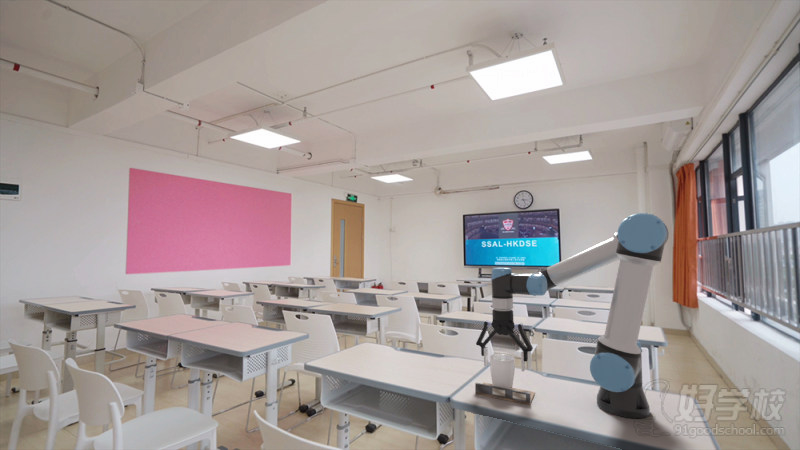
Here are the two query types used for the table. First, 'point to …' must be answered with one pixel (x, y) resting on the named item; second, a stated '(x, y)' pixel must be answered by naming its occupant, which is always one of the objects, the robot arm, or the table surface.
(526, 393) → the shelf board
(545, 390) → the table surface
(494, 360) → the cup
